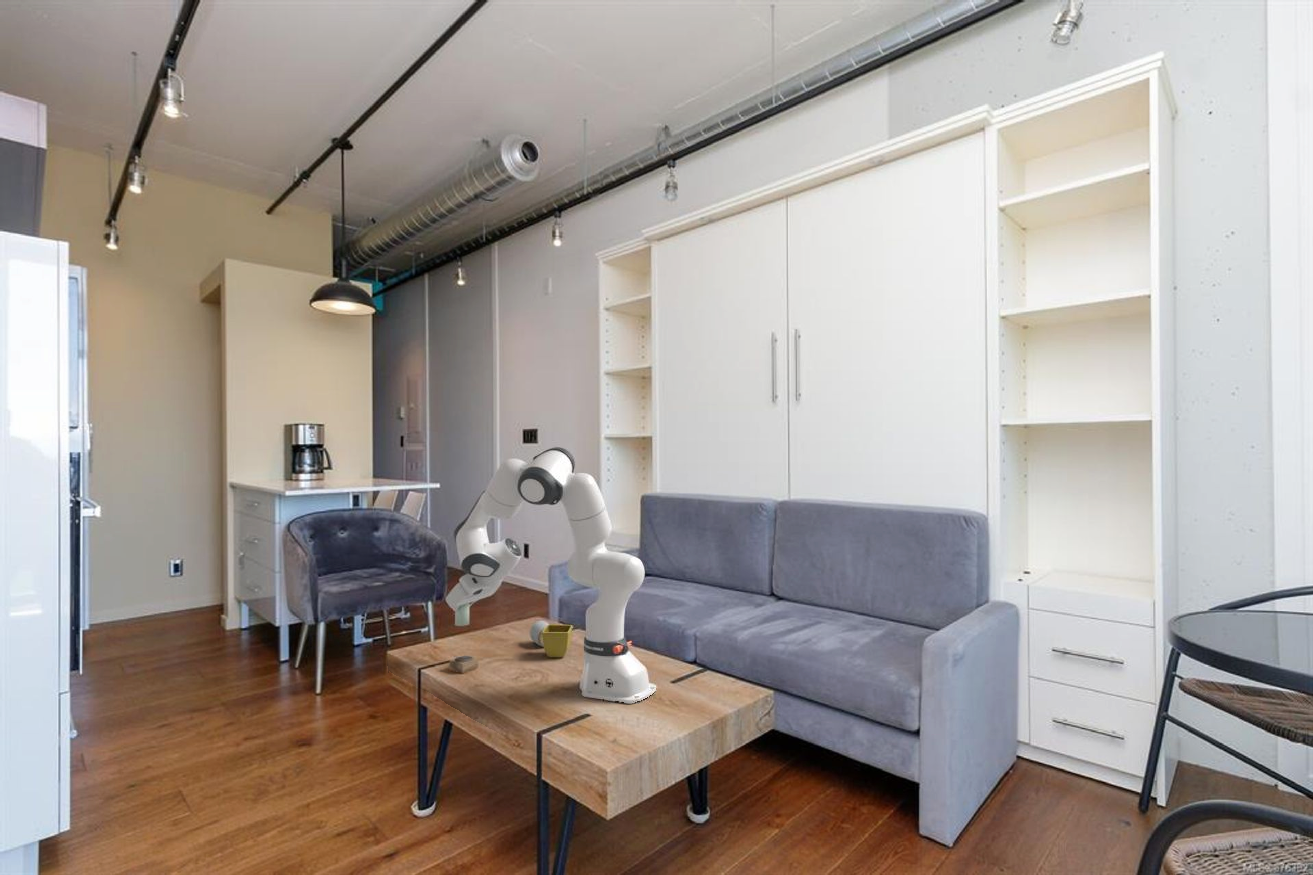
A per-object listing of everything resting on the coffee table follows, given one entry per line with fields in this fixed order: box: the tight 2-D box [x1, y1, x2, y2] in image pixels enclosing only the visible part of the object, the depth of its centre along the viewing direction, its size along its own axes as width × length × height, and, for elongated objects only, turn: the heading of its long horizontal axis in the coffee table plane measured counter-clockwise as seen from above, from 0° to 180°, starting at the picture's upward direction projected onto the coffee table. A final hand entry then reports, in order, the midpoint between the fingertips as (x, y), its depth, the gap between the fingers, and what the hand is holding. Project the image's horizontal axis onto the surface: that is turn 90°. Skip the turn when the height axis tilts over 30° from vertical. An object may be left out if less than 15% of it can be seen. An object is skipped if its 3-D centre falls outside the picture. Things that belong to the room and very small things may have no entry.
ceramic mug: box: [529, 620, 550, 648], centre depth 226 cm, size 11×8×8 cm
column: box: [454, 603, 471, 627], centre depth 208 cm, size 4×4×11 cm
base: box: [448, 654, 479, 674], centre depth 200 cm, size 6×6×3 cm
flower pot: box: [542, 624, 573, 658], centre depth 214 cm, size 9×9×9 cm
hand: (460, 607), depth 208 cm, fingers closed on column, 4 cm apart
